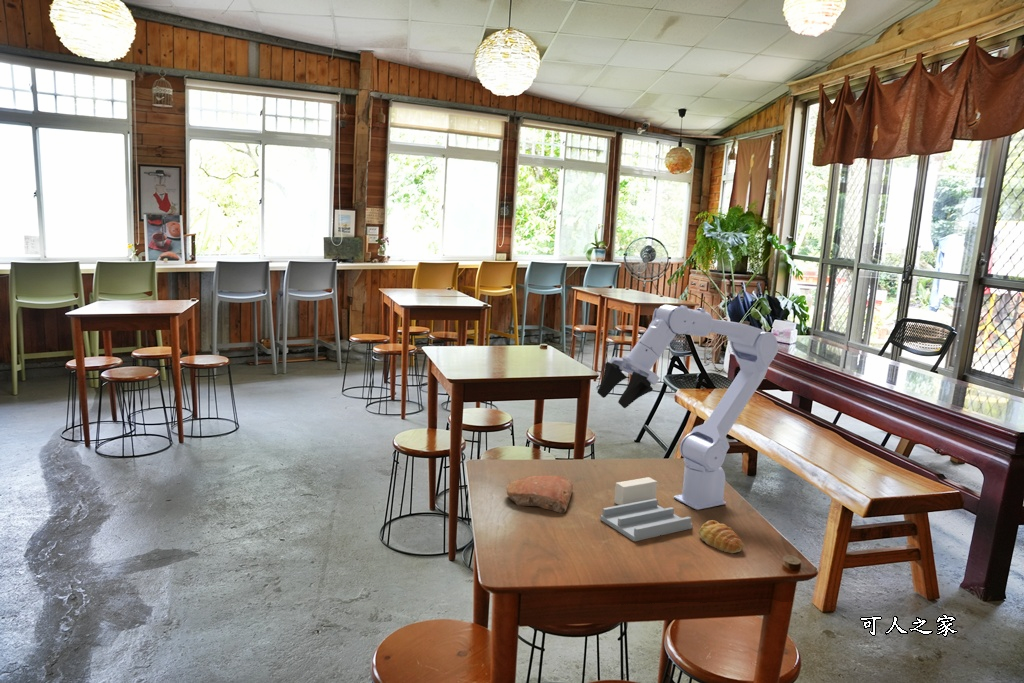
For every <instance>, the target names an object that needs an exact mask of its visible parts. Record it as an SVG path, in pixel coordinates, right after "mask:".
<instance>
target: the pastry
mask: <svg viewBox="0 0 1024 683" xmlns="http://www.w3.org/2000/svg"><path fill="white" fill-rule="evenodd" d="M699 528H700V529H699V530H698V536H699V537H700V539H701V541H702V542H705V544H707V545H709V546H710V547H712V548H714V549H716V548H717V550H719V551H721V552H723V551H724V553H729V554H735V553H739V552H741V551H742V550H743V547H744V543H743V541H742V538H741V537H740V536H739V535H738V534H737V532H735V531H734V530H733V528H732V527H731V526H730V527H729V526H728V525H727V524H725V523H720V522H719V521H717V520H714V519H712V520H711V519H710V520H707V521H706V522H704V523H703V524H702V525H701V526H700V527H699Z"/></svg>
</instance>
